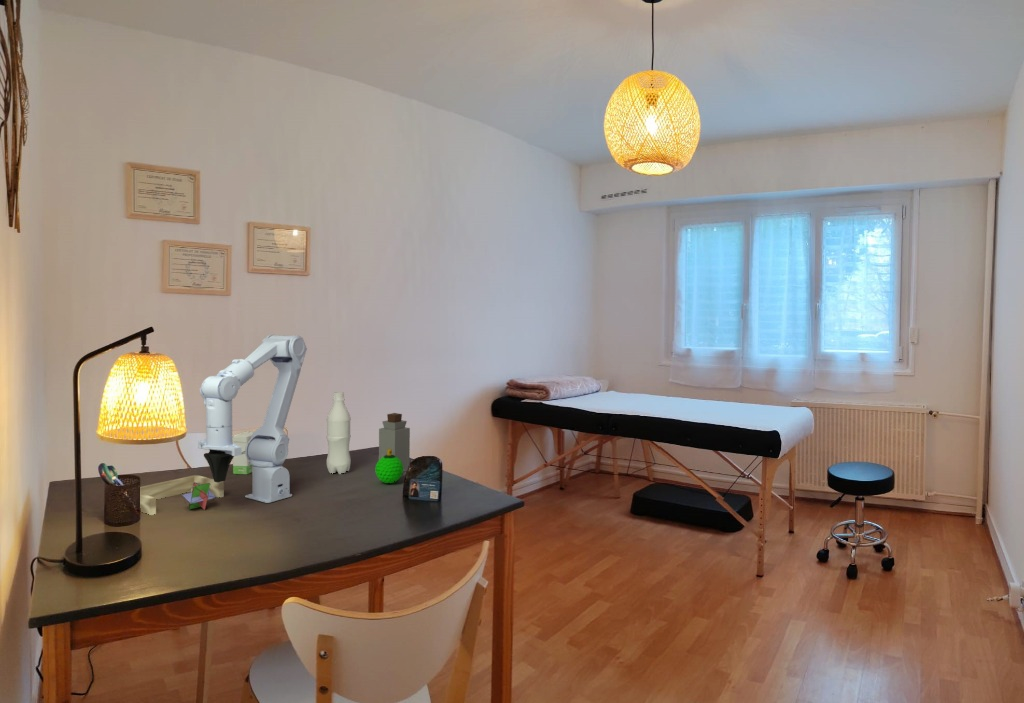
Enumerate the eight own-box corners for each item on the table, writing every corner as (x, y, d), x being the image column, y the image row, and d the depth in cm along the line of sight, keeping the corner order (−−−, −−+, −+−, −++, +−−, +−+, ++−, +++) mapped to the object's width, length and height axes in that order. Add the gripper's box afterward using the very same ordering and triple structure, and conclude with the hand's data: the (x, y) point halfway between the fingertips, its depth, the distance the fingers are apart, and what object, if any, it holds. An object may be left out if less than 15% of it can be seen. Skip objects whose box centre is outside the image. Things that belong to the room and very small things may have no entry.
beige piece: (223, 496, 168) (223, 481, 168) (151, 515, 152) (150, 499, 151) (196, 488, 175) (195, 474, 174) (123, 506, 158) (123, 490, 158)
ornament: (390, 488, 179) (390, 453, 178) (369, 484, 183) (369, 450, 182) (409, 482, 186) (409, 448, 185) (388, 478, 190) (388, 445, 189)
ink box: (247, 474, 191) (247, 436, 190) (232, 474, 191) (231, 435, 190) (262, 468, 199) (261, 431, 198) (247, 467, 200) (247, 430, 199)
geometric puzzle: (224, 500, 157) (213, 472, 160) (197, 507, 152) (186, 478, 154) (211, 513, 161) (200, 485, 163) (185, 520, 155) (174, 491, 157)
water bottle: (326, 470, 198) (326, 391, 196) (349, 469, 200) (350, 390, 198) (326, 476, 191) (326, 394, 189) (351, 474, 193) (351, 393, 191)
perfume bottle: (409, 469, 200) (409, 413, 199) (394, 474, 195) (395, 416, 194) (393, 466, 204) (394, 411, 203) (378, 471, 198) (379, 414, 197)
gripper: (185, 424, 152) (186, 480, 153) (222, 431, 145) (222, 489, 145) (213, 420, 158) (213, 474, 159) (249, 427, 151) (249, 483, 151)
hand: (219, 481), depth 153 cm, fingers closed
